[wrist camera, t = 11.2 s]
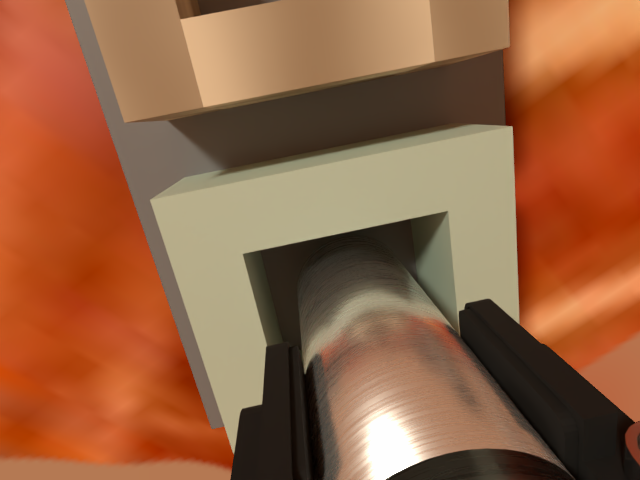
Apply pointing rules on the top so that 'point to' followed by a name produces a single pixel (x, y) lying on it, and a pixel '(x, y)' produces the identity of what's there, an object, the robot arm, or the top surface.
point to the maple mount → (278, 48)
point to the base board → (282, 154)
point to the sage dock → (334, 218)
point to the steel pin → (401, 380)
